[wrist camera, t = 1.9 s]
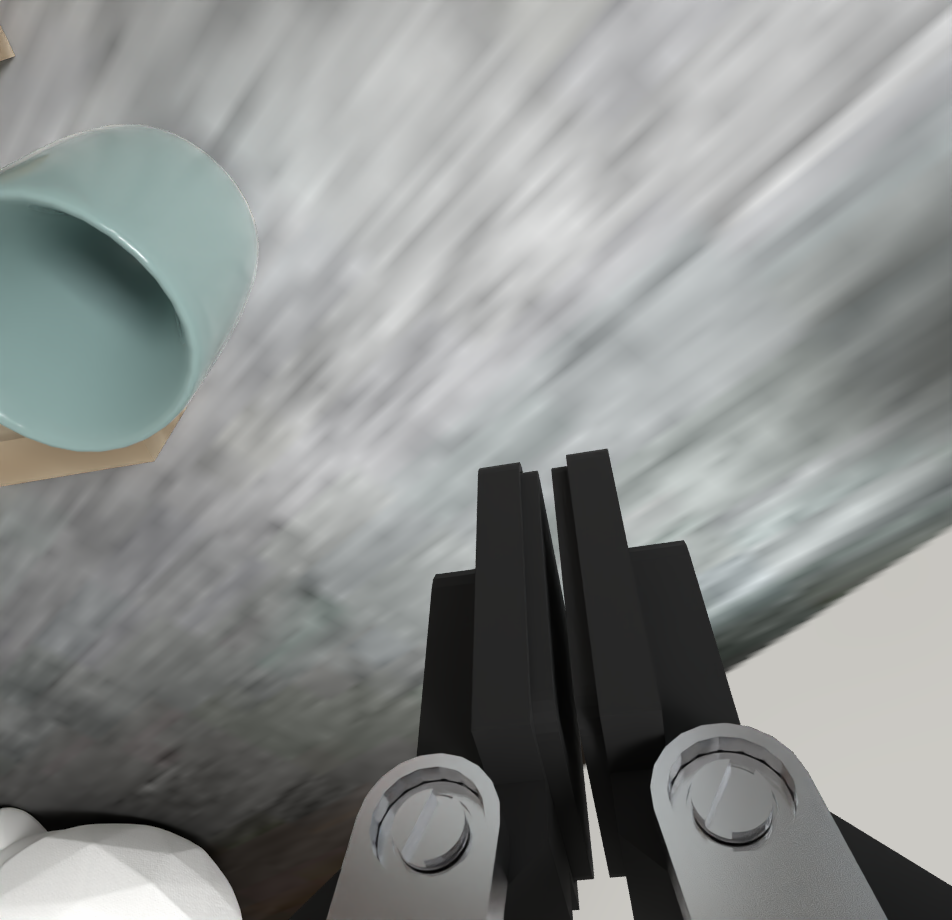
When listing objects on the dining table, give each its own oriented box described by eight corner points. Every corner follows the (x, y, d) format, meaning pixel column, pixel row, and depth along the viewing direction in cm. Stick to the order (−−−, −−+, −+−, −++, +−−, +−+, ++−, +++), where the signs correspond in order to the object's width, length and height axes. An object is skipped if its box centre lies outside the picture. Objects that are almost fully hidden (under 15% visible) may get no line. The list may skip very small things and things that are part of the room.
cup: (188, 345, 33) (86, 496, 24) (22, 196, 29) (-161, 312, 21) (322, 231, 30) (257, 358, 22) (156, 49, 26) (3, 119, 18)
